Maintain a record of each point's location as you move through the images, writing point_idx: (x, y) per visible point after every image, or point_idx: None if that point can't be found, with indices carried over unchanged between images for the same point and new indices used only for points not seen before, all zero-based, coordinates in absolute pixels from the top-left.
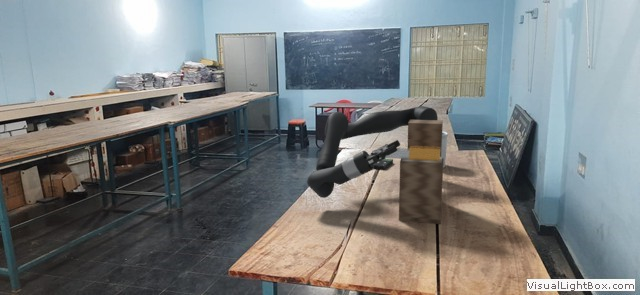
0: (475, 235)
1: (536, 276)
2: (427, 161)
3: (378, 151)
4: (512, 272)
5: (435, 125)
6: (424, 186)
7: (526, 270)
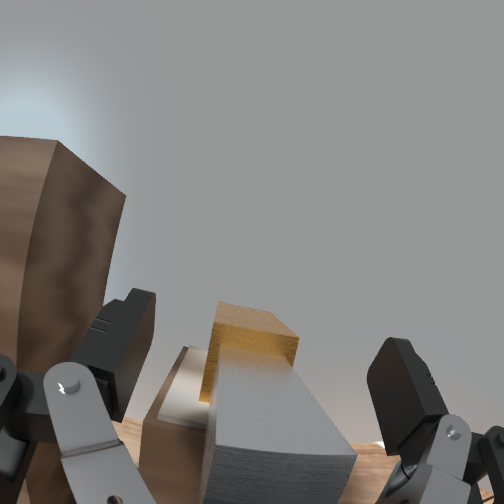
0: None
1: (378, 447)
2: None
3: (459, 478)
4: (387, 460)
5: (115, 197)
6: None
7: (370, 452)
